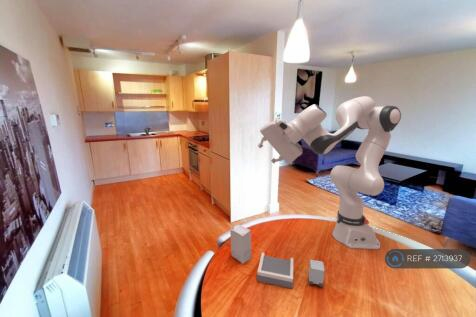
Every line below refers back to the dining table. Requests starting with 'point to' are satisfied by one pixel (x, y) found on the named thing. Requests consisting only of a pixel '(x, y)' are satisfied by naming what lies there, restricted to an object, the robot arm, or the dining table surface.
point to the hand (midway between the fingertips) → (265, 154)
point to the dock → (275, 271)
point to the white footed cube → (316, 272)
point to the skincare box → (241, 243)
